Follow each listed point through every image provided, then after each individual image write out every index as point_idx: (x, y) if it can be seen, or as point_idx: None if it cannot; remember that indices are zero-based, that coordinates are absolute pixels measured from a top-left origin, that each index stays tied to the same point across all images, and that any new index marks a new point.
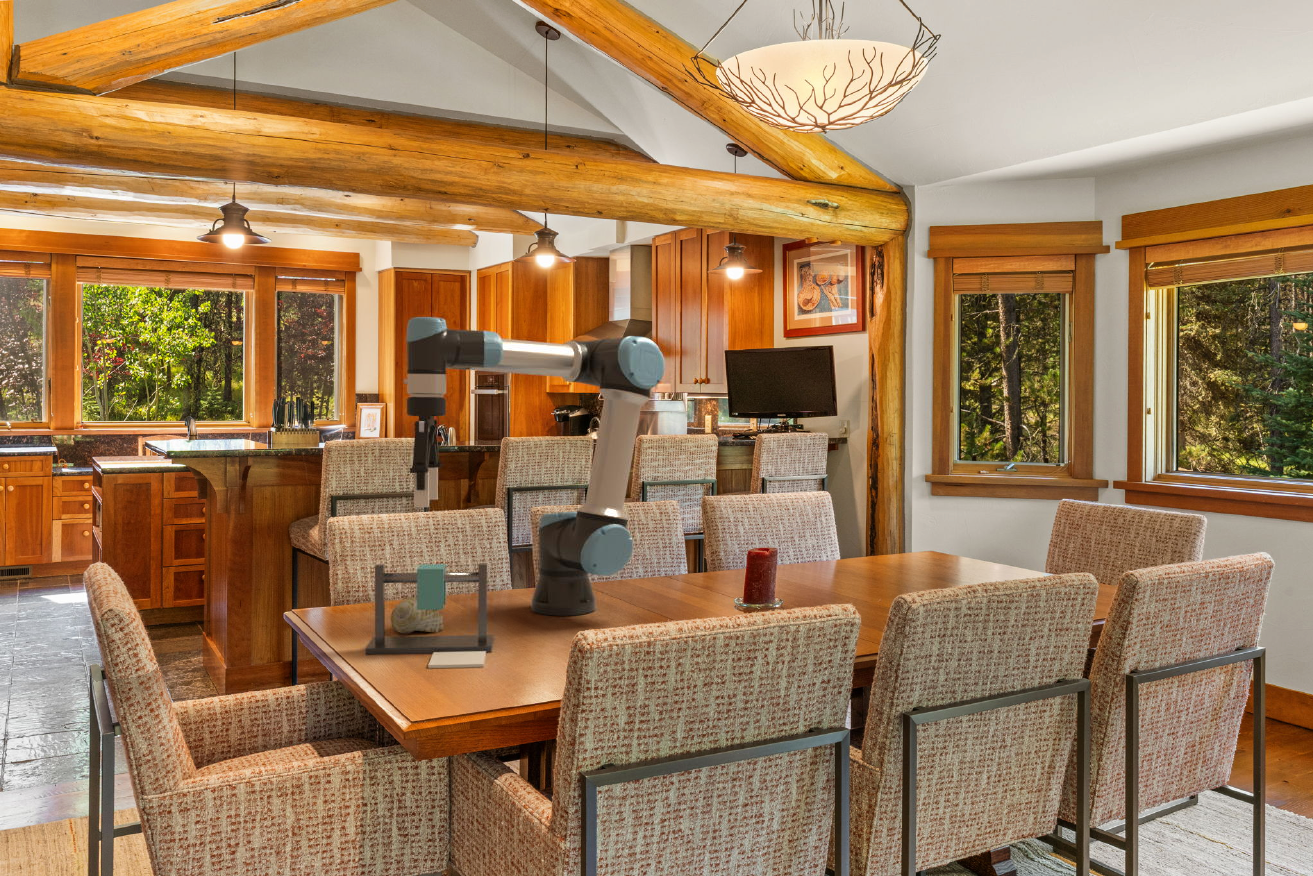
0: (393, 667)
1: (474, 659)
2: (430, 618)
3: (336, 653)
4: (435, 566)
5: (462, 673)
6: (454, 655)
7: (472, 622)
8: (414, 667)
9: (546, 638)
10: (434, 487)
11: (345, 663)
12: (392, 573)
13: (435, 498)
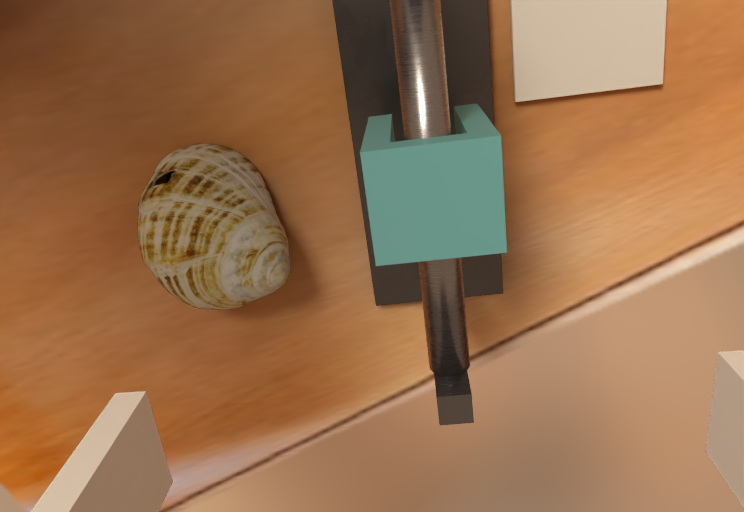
0: (634, 183)
1: None
2: (240, 183)
3: (484, 355)
4: (432, 186)
5: None
6: (556, 25)
7: (83, 64)
8: (641, 125)
9: None
10: (108, 488)
11: (582, 310)
12: (454, 345)
13: (145, 410)
